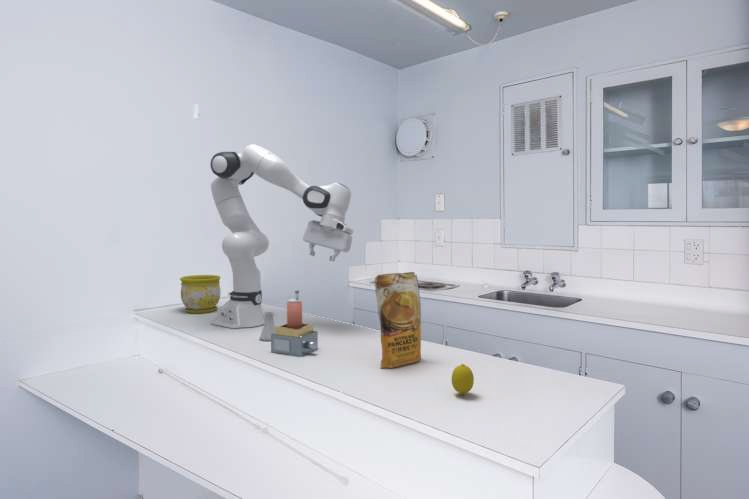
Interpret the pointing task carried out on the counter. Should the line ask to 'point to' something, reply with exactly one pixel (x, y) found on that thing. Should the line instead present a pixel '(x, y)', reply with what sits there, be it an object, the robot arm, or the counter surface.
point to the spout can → (294, 312)
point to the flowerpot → (200, 293)
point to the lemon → (462, 379)
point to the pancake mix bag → (399, 318)
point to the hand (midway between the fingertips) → (321, 258)
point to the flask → (268, 327)
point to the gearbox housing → (294, 340)
